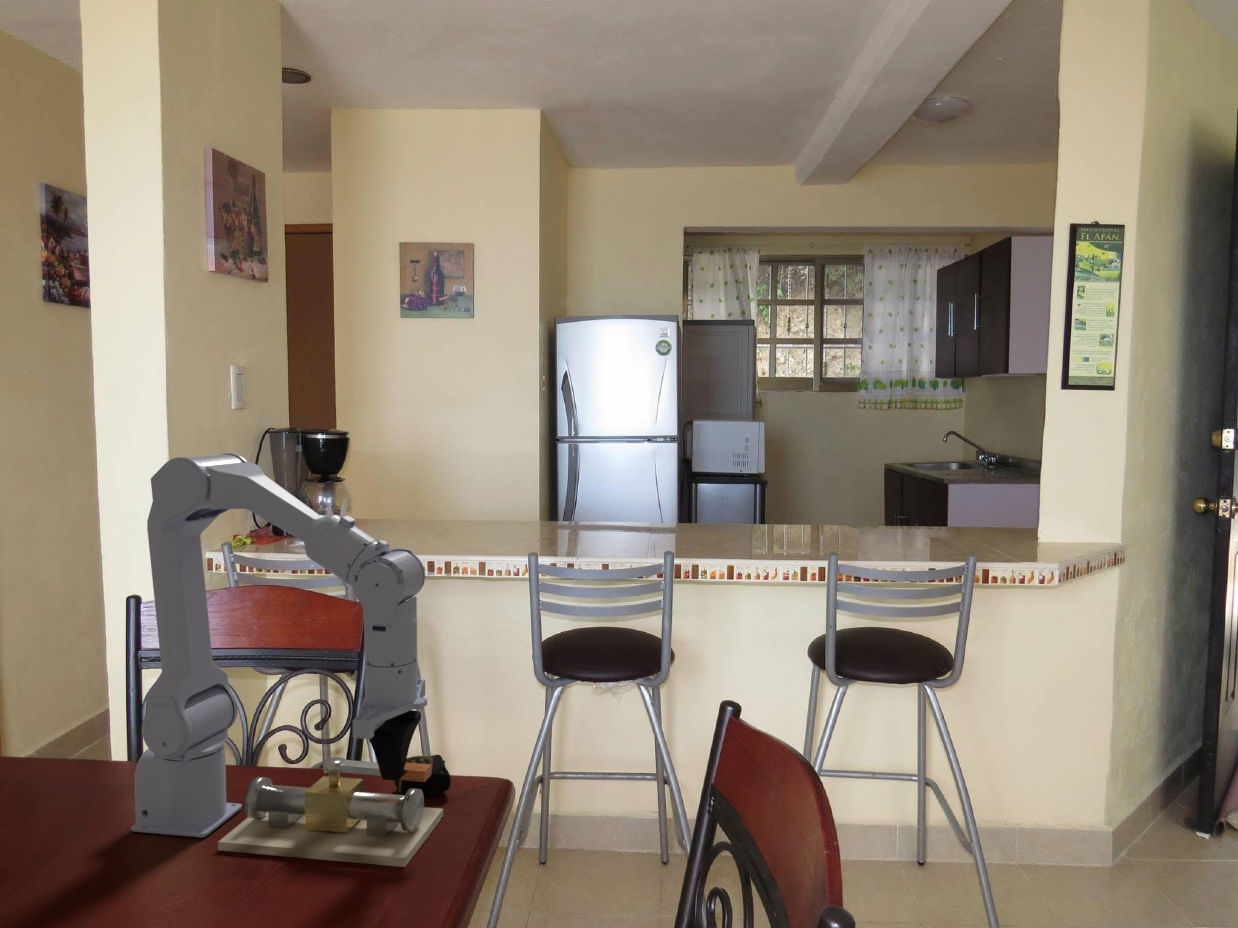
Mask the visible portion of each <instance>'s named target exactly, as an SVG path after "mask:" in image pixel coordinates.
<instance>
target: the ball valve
mask: <svg viewBox="0 0 1238 928" xmlns="http://www.w3.org/2000/svg"><path fill="white" fill-rule="evenodd" d="M243 805H244V807H243V809H244V812H245V816H246V817H247V818H248V817H249V818H253V819H261V818H263V817H264V816H265V815H266V814H267V812H268V820H269V828H278V829H289V828H290V827H291V826H292V825H293V824H294V823H296V822H297V821H298V820H299V819H300V818H301V817H302V816H303V815H306V829H309V830H321V831H333V832H345V833H347V832H348V831H349V830H350V829H351V828H352V827H353V826H354V825H355V824H356V823H357V822H358V820H367V836H373V837H384V838H387V837H388V836H389V834H390V833H391V832H392V831H393V830H394V829H395V827H396V826H397V825H398V824H399V823H401V826H402V829H403V830H404V831H410V832H415V831H416V830H417V829H418V827H419V825H420V823H421V820H422V816H423V810H424V807H425V797H424V795H423V792H422V790H421V789H412V788H411V789H409V790H408V791H407V793H406V795H403V794H393V793H382V792H380V793H378V792H367V791H364V778H353V777H352V778H351V777H341V772H340V773H335V774H328V776H327V775H325V776H324V775H323V776H322V777H321V778H320V779H318V780H317V781H316V782H315V783H313V784H312V785H311V786H310V787H304V786H303V787H302V786H300V787H299V786H288V785H278V784H277V785H275V784H273V781H272V779H271V778H270V777H266V776H264V777H263V776H257V777H255V778H254V779H252V780H251V782H250V783H249V785H248V788H247V789H246V793H245V796H244V803H243Z"/></svg>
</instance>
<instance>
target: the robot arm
mask: <svg viewBox="0 0 1238 928" xmlns="http://www.w3.org/2000/svg"><path fill="white" fill-rule="evenodd" d="M150 486H151V496H152V503H151V506H150V510H149V514H148V518H147V521H146V522H147V523H146V525H147V527H146V528H147V529H146V530H147V539H148V541H147V542H148V548H149V558H150V568H151V577H152V586H153V587H152V589H153V598H154V599H153V600H154V606H155V617H156V626H157V636H158V645H159V656H160V657H159V658H160V664H161V665H160V666H161V668H160V669H161V673H160V674H159V676H158V678H157V679H156V681H154V683H153V685H151V688H150V689H149V690H148V692H147V694H146V695H145V704H146V705H145V706H146V707H145V708H146V709H145V710H146V711H145V714H144V717H143V721H142V723H141V734H142V738H143V741H144V743H145V745H146V747H147V749H145V751H144V752H143V753H142V755H141V756H140V758H139V759H138V762H137V764H136V767H135V771H134V801H135V804H134V805H135V807H134V809H135V810H134V811H135V824H134V825H132V826H131V827H130V828H131V829H130V830H131V832H136V833H144V834H145V833H148V834H158V835H169V836H182V837H194V838H205V837H207V836H208V835H210V834H211V833H213V832H214V830H216V829H217V828H218V827H220V826H221V825H222V824H224V823H225V822H226V821H228V820H229V819H230V818H231V817H233V816H234V815H235V814H236V813H238V812H239V811H240V810H241V809H242V808H243V804H242V803H236V802H234V803H232V802H227V776H226V775H227V774H226V773H227V771H226V770H227V768H226V767H227V766H226V765H227V764H226V762H227V761H226V740H227V739H229V738H228V737H229V734H228V731H229V729H231V727H232V726H233V725H234V724H235V722H236V720H237V717H238V714H239V712H238V711H239V709H238V702H237V699H236V697H235V695H234V693H233V691H232V689H231V687H230V684H229V676H228V673H227V672H226V671H225V670H224V669H222V668H221V667H219V666H217V665H216V664H215V663H214V660H213V650H212V640H211V639H212V638H211V631H210V630H211V629H210V620H209V619H210V618H209V609H208V601H207V598H208V597H207V589H206V579H205V572H204V571H205V569H204V559H203V552H202V551H203V550H202V540H201V539H202V538H201V536H202V533H203V532H204V531H205V530H207V528H208V527H209V526H210V525H211V524H212V523H213V522H214V521H215V520H216V519H217V518H218V516H220V515H221V514H223V513H226V512H227V511H229V510H242V509H243V510H248V511H249V512H251V513H252V514H254V515H256V516H258V517H259V518H261V519H263V520H265V521H266V522H268V523H270V524H272V525H274V526H275V527H278V528H279V529H281V530H282V531H284V532H285V533H288V534H289V535H291V536H293V537H294V538H296V539H298V540H300V541H302V542H303V544H304V550H305V555H306V557H307V558H308V559H310V561H313V562H315V563H316V564H318V566H320V567H322V568H323V569H325V570H326V571H328V572H330V573H331V574H333V575H334V576H336V577H337V578H339V579H340V580H342V581H343V582H344V583H346V584H348V585H349V586H351V587H352V590H353V593H354V596H355V598H356V599H357V600H358V602H359V603H360V605H361V607H362V611H363V612H362V613H363V614H362V615H363V616H362V617H363V624H364V625H363V629H364V630H363V631H364V632H363V633H364V634H363V635H364V638H363V639H364V640H363V641H364V644H363V645H364V698H363V700H362V703H361V706H360V709H359V711H358V713H357V715H356V717H355V718H353V720H352V738H353V739H365V740H368V741H369V744H370V745H371V747H372V750H373V752H374V755H375V758H376V763H378V766H379V770H380V774H381V776H380V777H382V778H381V780H384V781H394V782H395V781H399V780H400V779H401V778H402V776H403V772H404V768H405V764H406V759H407V758H408V753H409V749H410V745H411V741H412V739H413V736H414V733H415V731H416V729H417V727H418V725H419V723H420V722H421V720H422V713H421V711H418V710H422V709H424V708H425V707H427V705H428V698H426V697H425V696H426V679H420V678H418V616H417V615H418V613H417V611H418V610H417V607H418V606H417V602H418V600H417V596H416V595H417V594H419V593H420V592H421V590H422V589H423V587H424V584H425V580H426V571H425V568H424V567H425V566H424V564H423V563H422V561H421V560H420V559H419V557H418V556H416V554H414V553H413V551H412V550H410V549H408V548H403V547H399V548H394V549H393V548H390V543H389V542H387V541H385V540H384V539H381V540H378V539H377V538H375V537H373V536H371V535H370V534H369V533H367V532H366V531H364V530H362V529H361V528H359V527H358V526H356V523H357V520H356V519H355V518H353V517H351V516H350V515H345V516H340V515H339V514H332V515H327V516H324V517H323V516H321V515H320V514H319V513H317V512H316V511H315V510H313V509H312V508H311V507H309V506H308V505H306V503H304V502H302V501H301V500H300V499H298V498H297V497H296V496H295V495H293V494H292V493H290V492H289V491H287V490H286V489H284V488H283V487H282V486H281V485H279V484H278V483H277V482H275V481H274V480H272V479H271V478H270V477H268V476H267V475H266V474H264V472H263V470H262V468H261V467H260V466H259V465H258V464H256V463H254V462H253V463H252V462H251V461H248V460H246V458H244V457H243V456H242V455H240V454H237V453H235V452H234V453H233V452H226V453H222V454H216V455H214V454H213V455H204V456H195V457H193V456H191V457H186V456H185V457H184V456H179V457H174V458H171V459H169V460H168V461H166V462H165V463H164V464H163V465H162V466H161V467H160V468H159V469H158V470H157V471H156V472H155V473H154V475H152V477H151V478H150Z"/></svg>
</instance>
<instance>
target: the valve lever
mask: <svg viewBox="0 0 1238 928" xmlns="http://www.w3.org/2000/svg"><path fill="white" fill-rule="evenodd" d="M322 765H323V766H322V767H323V769H322V770H323V772H324V773H325V774H327V775H329V774H335V773H340V774H341V773H342V774H343V773H346V774H355V775H367V776H368V775H369V776H380V777H381V774H380V770H379V766H378V763H377V761H376V762H375V761H364V760H363V761H362V760H352V759H351V760H349V759H345V758H344V757H340V756H334V757H333V756H332V757H329V758H326V759H324V760H323V763H322ZM430 776H431V765H430V764H418V763H406V764H405V768H404V772H403V776H402V778H401V779H400V780H408V781H419V782H425V781H426V780H427V779H428V778H429V777H430ZM381 779H382V777H381Z"/></svg>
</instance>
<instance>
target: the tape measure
mask: <svg viewBox="0 0 1238 928" xmlns="http://www.w3.org/2000/svg"><path fill="white" fill-rule="evenodd" d="M406 763H418V764H430V765H431V776H430V777H429V778H428V779H427V780H426V781H425V782H419V781H408V780H399V781H394V786H395V788H396V790H397V791H398V792H399V793H400V795H406V793H407V791H408V790H409V789H411V788H412V789H421V790H422V792H423V795H424V798H425V797H429V796H432V795H436V794H440V793H443V792H444V793H445V792H447V791H448V790H450V788H451V774H450V773H449V770H448V769H447V767H446V765H445V763H446V760H444V759H443V756H442V755H440V754H434V755H433V754H432V755H430V756H429V755H414V756H410V757H407V759H406Z"/></svg>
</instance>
